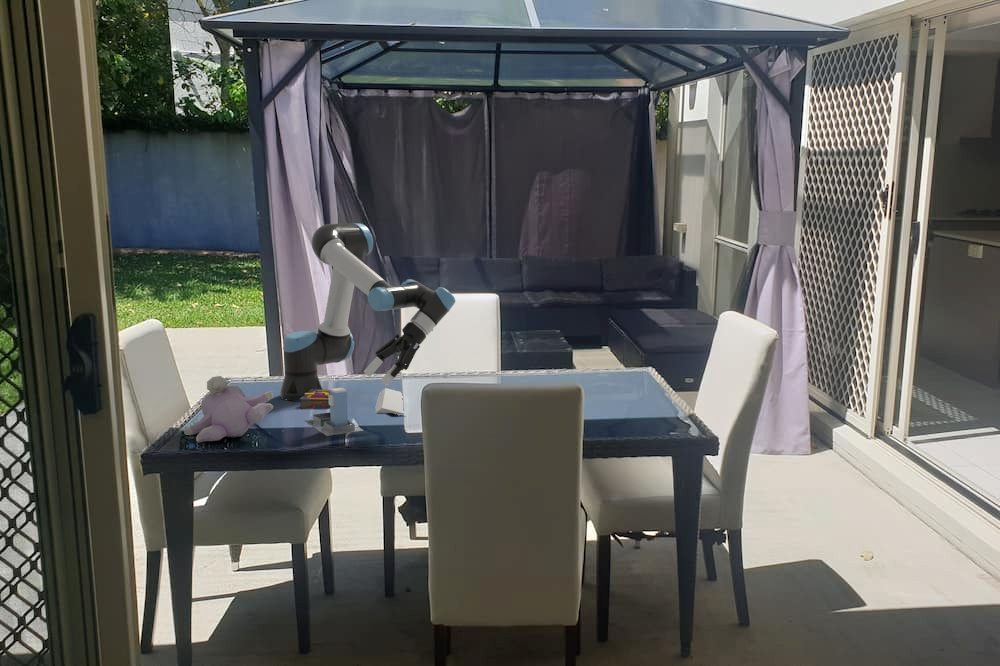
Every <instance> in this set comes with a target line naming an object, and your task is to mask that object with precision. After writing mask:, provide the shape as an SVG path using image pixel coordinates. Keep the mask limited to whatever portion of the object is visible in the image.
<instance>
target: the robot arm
mask: <svg viewBox="0 0 1000 666" xmlns="http://www.w3.org/2000/svg"><path fill="white" fill-rule="evenodd" d="M311 248H312V250H313V252H314V254H315V256H316V258H318V259H319V260H320V262H322V263H323V264H325V265H330V266H332V273H331V277H330V285H329V290H328V297H327V302H326V308H325V313H324V318H323V319H324V320H323V322H320V324H319V325H318V330H317V332H316V331H313V330H302V331H301V330H300V331H299V330H298V331H295V332H291V333H288V334H287V335H285V337H284V339H283V347H282V350H283V362H284V363H283V365H284V366H283V369H284V378H283V381H282V384H281V388H280V392H279V393H280V396H281V397H280V399H282V398H283V399H282V400H284V399H287V400H286V401H290V400H300V398H301V397H304V394H305V393H308V391H309V390H310V389H321V390H324V389H323V386H322V384H321V381H320V378H319V375H318V366H323V365H328V364H335V363H340V362H343V361H346V360H348V359H349V358H350V357H351V356H352V355H353V352H354V349H355V341H354V336H353V334H352V332H351V329H350V328H349V326H348V321H349V317H350V311H351V306H352V301H353V296H354V289H355V287H356V288H358V290H360V291H361V292H362V293H364V295H366V296H367V300H368V301H367V302H368V304H369V305H370V308H371V309H372V310H373V311H376V312H380V311H382V312H387V311H391V310H393V311H394V310H399V309H406V308H407V309H408V308H416V309H418V310H417V312H415V313H414V314H413V316H412V317H411V318H410V321H408V322H407V323H406V324H405V326H404V327H403V328H402V330H401V331H402V333H403V335H399V334H398V333H397V334H395V336H393V338H392V339H391V340H389V341H388V342H386V343H385V344H384V345H383V346H381V347H380V348H379V349H377V350H376V351H375V356H376V357H374V359H373V360H372V361H371V362H370V363H369V365H368V366H366V368H365V369H364V371H363V373H365V375H367V376H368V377H369V378H371V377H372V376H373V374H374V373H375V372H376V370H378V369H379V368H380V366H381V365H382V364H383V363H384V362H385V359H387V358H389V357H391V356H392V355H394V354H396V353H399V355H398V359H397V362H395V363H394V364H393V365H392V367H390V369H389V370H388V371H387V372H386V374H385V375H383V377H382V379H380V382H381V383H383V384H384V386H386V387H388V386H389V385H390V384H391V383H392V382H393V381H394V379H395V378H396V377H397V375H399V373H400V372H401V371H404V370H405V371H407V370H408V369H409V367H410V365H411V363H412V360H413V358H415V355H416V353H417V351H418V350H419V349H420V347H421V344H422V343H423V342H424V340H425V339H427V336H429V335H430V333H432V332H433V331H434V329H435V327H437V325H438V324H439V323H440V321H441V320H442V319H443V318H444V317H445V316H446V315H447V314H448V313H449V312H450V310H451V309H452V308H453V306H454V305H455V304H456V298H455V297H454V295H453V294H452V293H451V292H450V291H449V290H448V289H446V288H445V287H442V286H440V287H439V286H438V287H437V288H436V289H435V290H432V289H431V288H430V287H427V286H425V285H424V284H422V283H421V282H420V281H416V280H415V279H406V280H405V281H402V283H401V285H400V284H398V285H391V284H390V283H389V282H387V281H386V280H385V279H383V277H382V276H380V275H379V274H377V272H376V271H374V270H373V269H372V268H370V267H369V266H368V265H366V264H365V263H364V259H365V256H366V257H367V256H369V255H370V253H372V251H373V248H374V237H373V234H372V233H371V231H370V229H369V227H367V226H366V225H365V224H364V223H358V222H357V223H355V222H351V223H350V222H349V223H328V224H327V223H326V224H323V225H321V226H320V227H318V228H317V229H316V230H315V231H314V233H313V235H312V238H311Z"/></svg>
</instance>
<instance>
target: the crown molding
mask: <svg viewBox="0 0 1000 666" xmlns="http://www.w3.org/2000/svg"><path fill="white" fill-rule="evenodd" d="M401 392H402V391H399V390H396V389H395V390H394V389H390V388H386V387H385V388H383V389H382V390H381V391H380V392H379V396H378V399H377V403H376V406H375V408H374V409H375V414H384V415H385V414H393V415H396V414H403V413H404V411H403V400H402V398H403V396H402V393H401Z"/></svg>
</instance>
